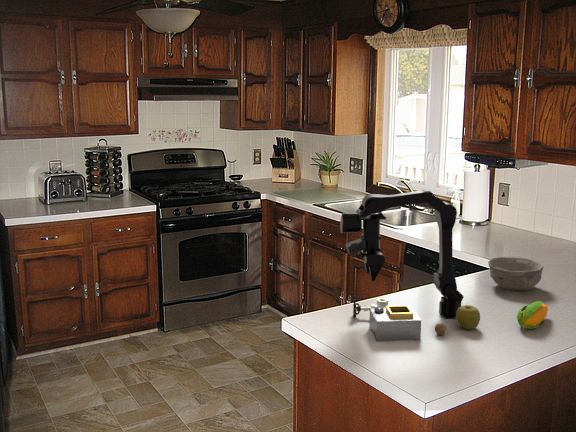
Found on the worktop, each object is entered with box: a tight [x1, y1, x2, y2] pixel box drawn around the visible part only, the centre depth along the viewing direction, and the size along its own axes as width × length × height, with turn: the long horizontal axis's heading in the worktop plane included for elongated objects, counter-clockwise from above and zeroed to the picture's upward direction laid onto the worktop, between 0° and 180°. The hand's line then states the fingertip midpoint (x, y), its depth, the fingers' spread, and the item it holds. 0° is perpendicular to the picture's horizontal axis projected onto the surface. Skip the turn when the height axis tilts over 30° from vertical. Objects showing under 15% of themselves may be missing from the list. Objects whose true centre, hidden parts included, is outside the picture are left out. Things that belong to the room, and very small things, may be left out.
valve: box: [352, 297, 389, 318], centre depth 215 cm, size 7×7×12 cm
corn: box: [516, 300, 549, 330], centre depth 208 cm, size 7×8×20 cm
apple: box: [455, 304, 481, 330], centre depth 205 cm, size 8×8×7 cm
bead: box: [434, 322, 448, 336], centre depth 200 cm, size 4×4×4 cm
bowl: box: [487, 256, 544, 292], centre depth 245 cm, size 21×21×10 cm
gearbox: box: [369, 304, 422, 342], centre depth 201 cm, size 14×12×8 cm
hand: (370, 276), depth 213 cm, fingers open, 9 cm apart
